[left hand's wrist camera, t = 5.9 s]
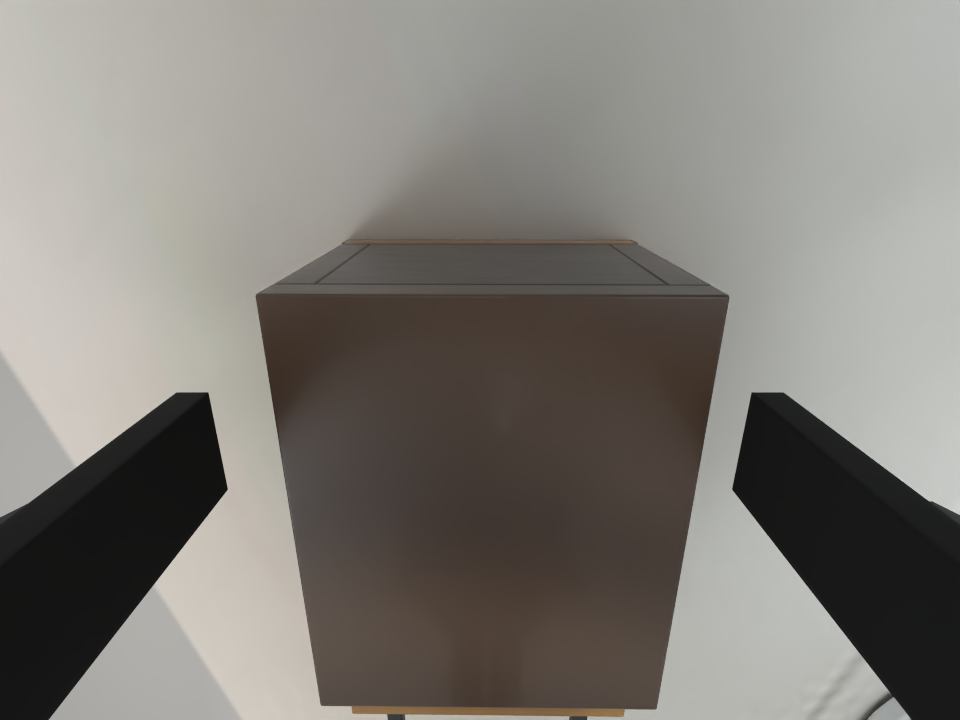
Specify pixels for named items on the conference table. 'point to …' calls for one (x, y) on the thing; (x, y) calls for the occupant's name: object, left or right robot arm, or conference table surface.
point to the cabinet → (491, 465)
